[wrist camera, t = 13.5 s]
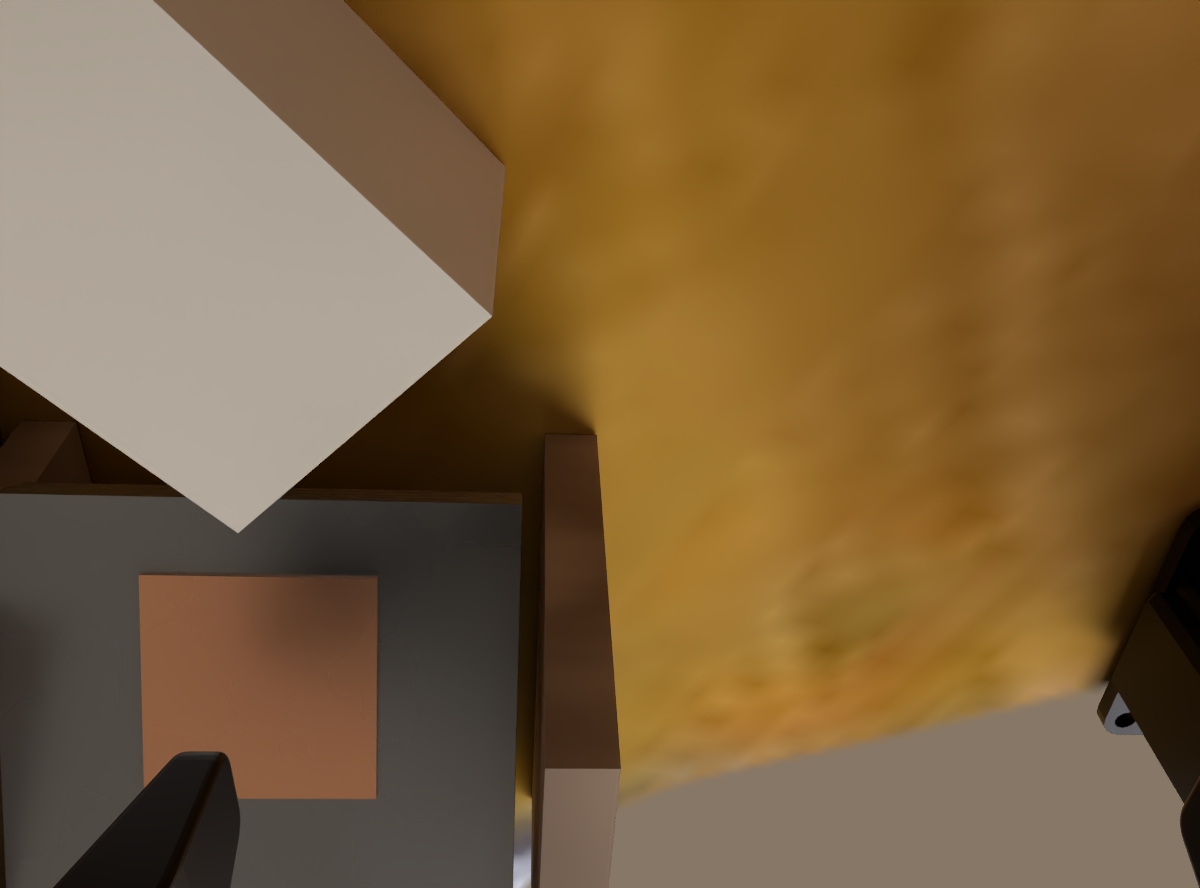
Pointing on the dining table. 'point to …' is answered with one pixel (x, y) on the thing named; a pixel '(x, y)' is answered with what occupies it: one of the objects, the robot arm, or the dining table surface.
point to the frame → (564, 655)
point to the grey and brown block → (266, 676)
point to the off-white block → (230, 231)
